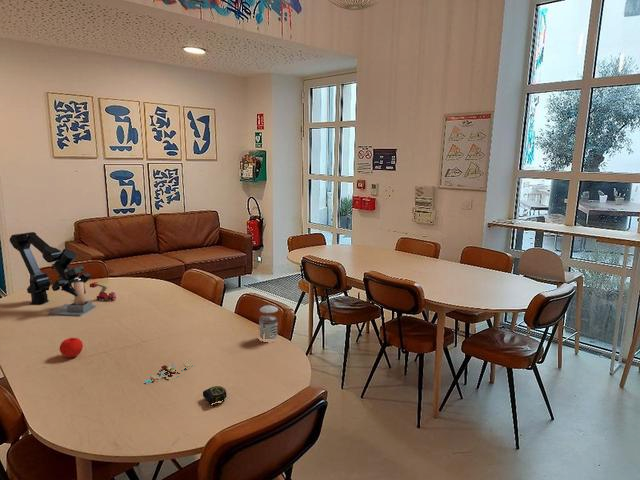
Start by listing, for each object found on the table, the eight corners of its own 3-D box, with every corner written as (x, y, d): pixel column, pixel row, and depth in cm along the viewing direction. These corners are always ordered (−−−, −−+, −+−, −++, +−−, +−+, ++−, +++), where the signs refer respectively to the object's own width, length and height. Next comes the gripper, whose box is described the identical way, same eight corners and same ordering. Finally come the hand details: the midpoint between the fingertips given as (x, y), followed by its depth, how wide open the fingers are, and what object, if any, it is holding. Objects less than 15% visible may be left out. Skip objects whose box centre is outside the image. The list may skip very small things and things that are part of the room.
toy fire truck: (113, 301, 236) (112, 284, 234) (90, 300, 237) (89, 283, 235) (117, 299, 239) (116, 283, 237) (93, 298, 240) (92, 281, 239)
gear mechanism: (137, 379, 154) (150, 389, 148) (137, 365, 153) (150, 374, 147) (187, 361, 169) (200, 369, 163) (186, 348, 168) (200, 356, 162)
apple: (59, 362, 164) (58, 344, 163) (60, 354, 171) (59, 336, 170) (83, 358, 168) (82, 340, 167) (83, 350, 175) (82, 333, 174)
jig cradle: (48, 314, 213) (47, 307, 212) (65, 305, 227) (65, 298, 226) (80, 316, 212) (79, 308, 212) (95, 307, 226) (95, 299, 226)
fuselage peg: (75, 308, 216) (73, 284, 214) (74, 306, 220) (73, 282, 218) (85, 307, 218) (83, 283, 216) (84, 304, 222) (83, 281, 220)
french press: (283, 337, 195) (284, 283, 191) (270, 346, 185) (270, 290, 181) (265, 332, 199) (265, 280, 195) (250, 341, 189) (251, 286, 185)
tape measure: (202, 399, 142) (202, 388, 142) (221, 393, 146) (221, 383, 146) (209, 409, 137) (209, 398, 136) (229, 402, 141) (229, 392, 140)
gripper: (54, 264, 208) (72, 290, 206) (87, 257, 225) (104, 280, 223) (43, 278, 212) (61, 303, 210) (77, 270, 229) (93, 293, 227)
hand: (81, 294), depth 217 cm, fingers closed on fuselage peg, 4 cm apart
